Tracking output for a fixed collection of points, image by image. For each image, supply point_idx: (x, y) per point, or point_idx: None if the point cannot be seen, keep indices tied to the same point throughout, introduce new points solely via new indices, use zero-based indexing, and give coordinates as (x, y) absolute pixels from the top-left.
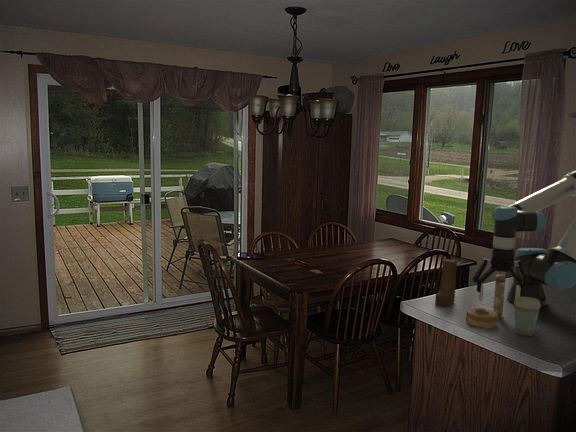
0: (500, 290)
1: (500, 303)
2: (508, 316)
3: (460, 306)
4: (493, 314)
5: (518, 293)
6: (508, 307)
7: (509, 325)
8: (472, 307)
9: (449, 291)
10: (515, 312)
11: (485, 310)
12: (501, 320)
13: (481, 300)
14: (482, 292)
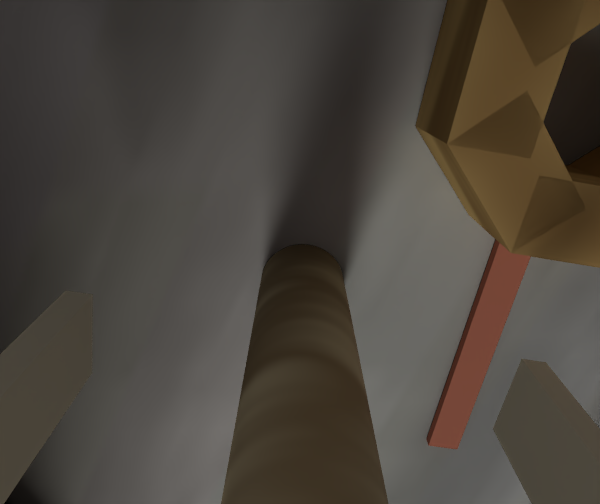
0: (326, 446)
1: (304, 313)
2: (203, 271)
3: (513, 472)
4: (540, 8)
5: (2, 384)
6: (120, 466)
7: (302, 15)
8: (441, 442)
9: None
10: None
11: (552, 171)
12: (320, 164)
13: (536, 365)
14: (591, 449)
